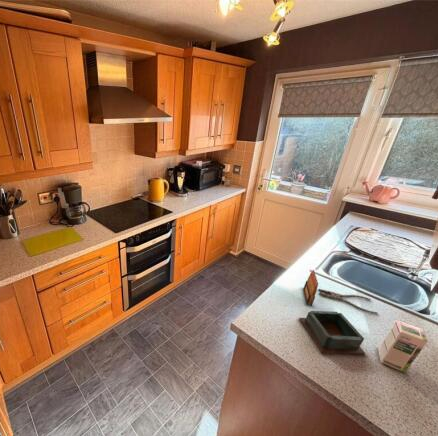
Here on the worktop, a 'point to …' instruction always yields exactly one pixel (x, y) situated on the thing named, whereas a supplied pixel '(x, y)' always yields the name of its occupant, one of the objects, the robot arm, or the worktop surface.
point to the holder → (332, 333)
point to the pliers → (338, 297)
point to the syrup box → (402, 345)
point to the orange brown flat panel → (310, 288)
